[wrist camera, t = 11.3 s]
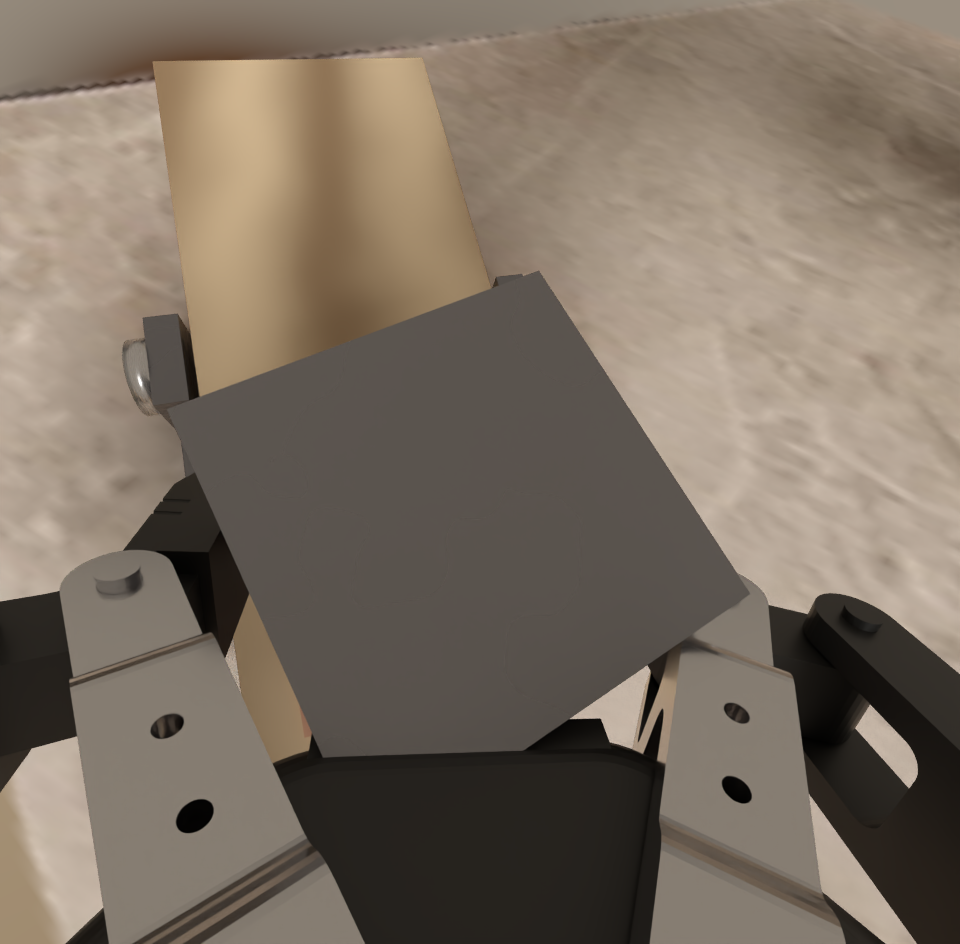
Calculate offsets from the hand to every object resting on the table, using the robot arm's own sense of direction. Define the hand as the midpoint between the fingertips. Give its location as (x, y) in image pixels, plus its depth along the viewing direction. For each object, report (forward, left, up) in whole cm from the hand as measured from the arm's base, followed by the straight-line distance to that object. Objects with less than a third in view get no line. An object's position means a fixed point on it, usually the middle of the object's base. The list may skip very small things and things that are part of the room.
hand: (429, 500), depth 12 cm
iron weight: (0, +2, -4) cm, 5 cm away
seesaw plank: (0, -7, -6) cm, 9 cm away
